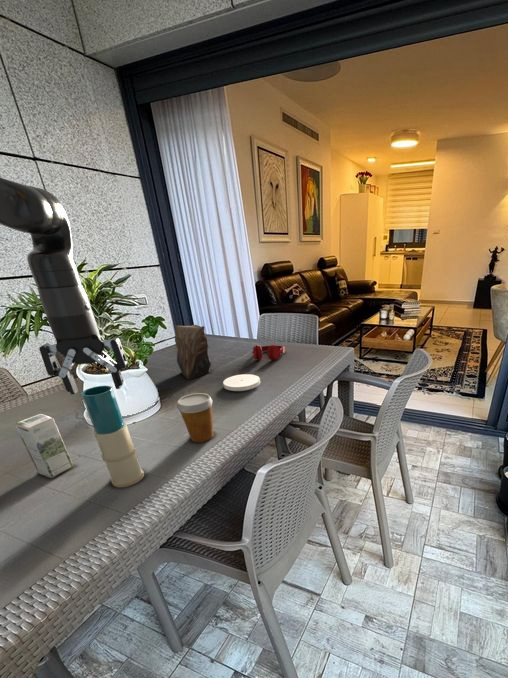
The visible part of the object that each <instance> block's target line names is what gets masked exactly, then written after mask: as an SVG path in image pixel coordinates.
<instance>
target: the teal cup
mask: <svg viewBox="0 0 508 678" xmlns="http://www.w3.org/2000/svg"><path fill="white" fill-rule="evenodd" d="M80 396H81V398H82V402H83V404H84V406H85V409H86V411H87V414H88V416H89V419H90V422H91V425H92V427H93V431H94V430H95V432H96V433H98V434H108V433H112V432H115V431H118V430H120V429H121V428H123V427H124V422H125V421H124V419H123V416H122V412H121V410H120V406H119V404H118V401H117V397H116V395H115V392H114V389H113V386H111V385H98V386H97V385H96V386H92V387H89V388H86V389H85V390H84V389H83V390H82V391H81V392H80Z"/></svg>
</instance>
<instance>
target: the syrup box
mask: <svg viewBox="0 0 508 678" xmlns="http://www.w3.org/2000/svg"><path fill="white" fill-rule="evenodd" d="M14 426H15V428H16V431H17V433H18V435H19V436H20V439H21V440H22V442H23V443H22V444H23V445H24V447H25V449H26V451H27V453H28V455H29V457H30V459H31V461H32V463H33V465H34V467H35V470H36V471H37V473H38V474H39V475H42V476H45V477H47V478H49V479H53V478H55V477H57V476H58V475H59V476H60V475H61V474H62V473H64V472H66V471H68V470H70V469H72V468H74V464H73V461H72V459H71V456H70V454H69V451H68V449H67V448H66V445H65V443H64V441H63V438H62V435H61V433H60V431H59V427H58V425H57V424H56V421H55V419H54V417H53V418H52V417H51V416H48V415H46V414H42V413H38V414H35V415H34V416H30V417H28V418H25V419H23V420H19V421H17V422H15V423H14Z"/></svg>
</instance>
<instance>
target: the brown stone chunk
mask: <svg viewBox="0 0 508 678" xmlns="http://www.w3.org/2000/svg"><path fill="white" fill-rule="evenodd" d="M174 329H175V333H174V342H175V347H176V349H177V351H176V363H177V365H178V367H179V371H180V372H181V375H182V376H184V378H185V379H187V380H191V379H194V378H197V377H199V376H200V377H202V376H204V375H208V374H210V373H211V372H212V371H211V370H210V369H211V367H212V362H211V359H210V355H209V348H210V346H209V345H210V344H209V342H208V337H207V335H206V332H205V330H206V329H205V326H204V325H202V326H201V325H197V324H192V325H175V326H174Z"/></svg>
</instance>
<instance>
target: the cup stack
mask: <svg viewBox="0 0 508 678" xmlns="http://www.w3.org/2000/svg"><path fill="white" fill-rule="evenodd" d="M123 422H124V427H123V428H121V429H120V430H118V431H115V432H112V433H108V434H98V433H96V432H95V430H94V429H93V435H94V437H95V440H96V442H97V445H98V447H99V451H100V452H101V459H102V461H103V462H104V463H105V465H106V468H107V470H108V473H109V476H110V482H111V484H112V486H113V487H116V488H126V487H131V486H133V485H135V484H137V483H139V482H140V481H141V480H143V478H144V476H145V472H144V469H142V466H141V464H140V460H139V458H138V455H137V448H136V445H134V442H133V440H132V437H131V433H130V429H129V428H128V424H127V422H125V421H123Z"/></svg>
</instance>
